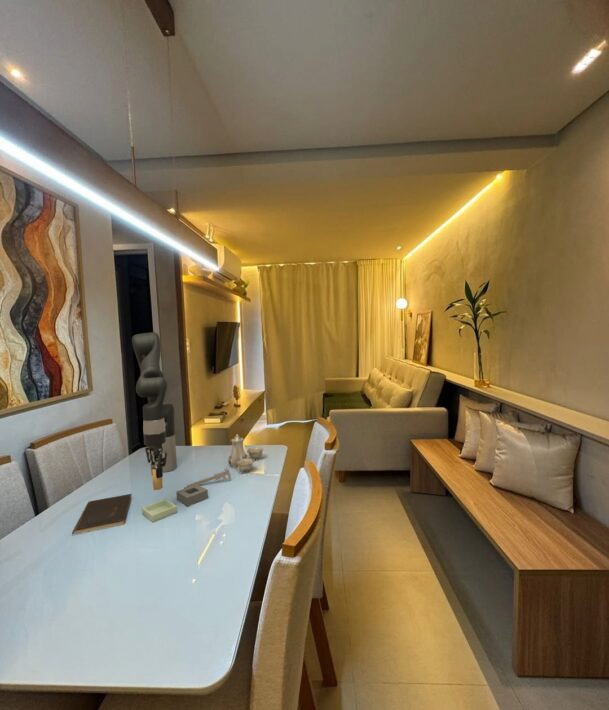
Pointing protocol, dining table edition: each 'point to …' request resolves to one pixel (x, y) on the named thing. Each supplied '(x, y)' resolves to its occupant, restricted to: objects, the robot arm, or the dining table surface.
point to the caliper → (212, 478)
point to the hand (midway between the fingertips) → (157, 476)
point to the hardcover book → (103, 514)
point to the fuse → (156, 479)
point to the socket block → (192, 495)
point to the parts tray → (159, 510)
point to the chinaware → (242, 455)
